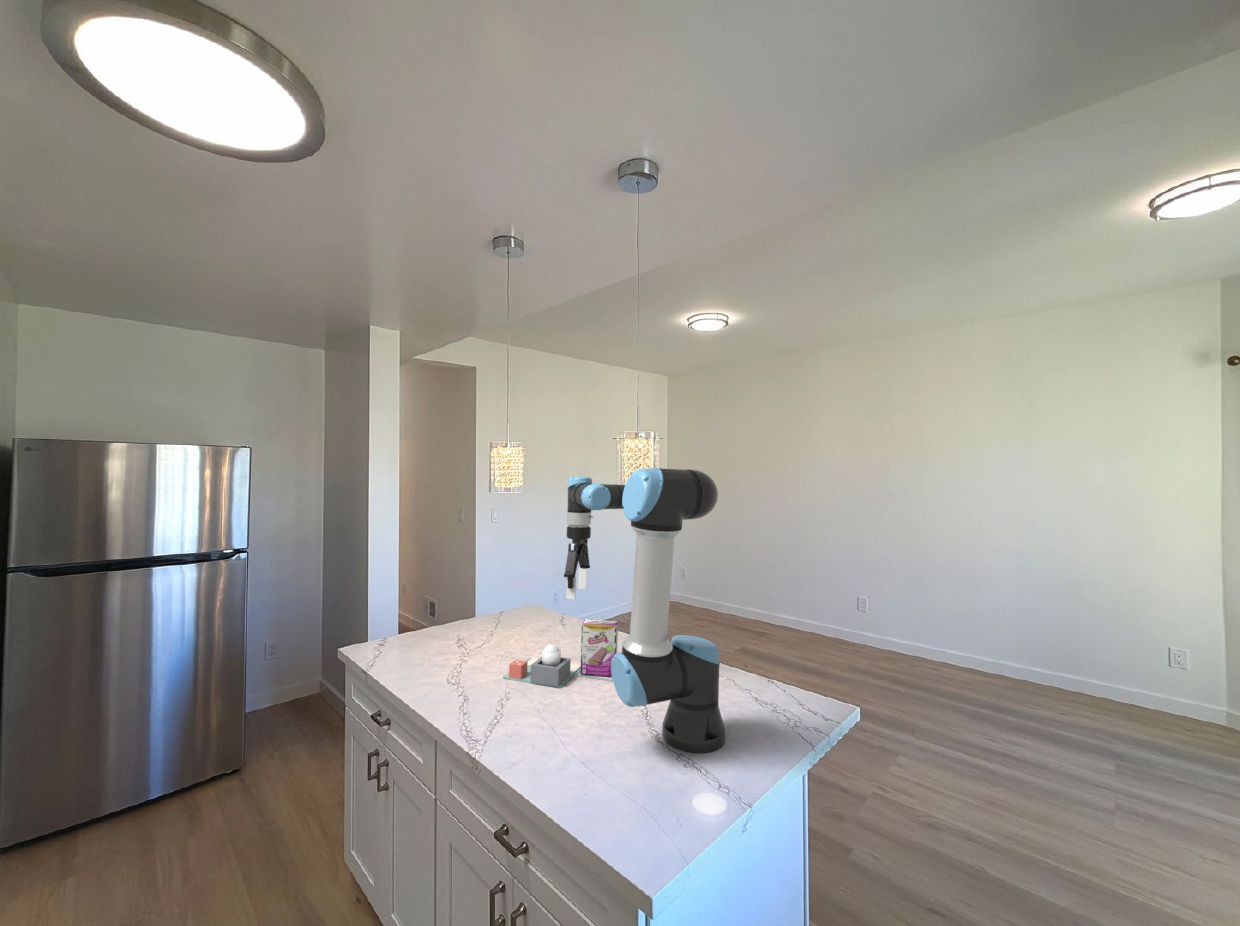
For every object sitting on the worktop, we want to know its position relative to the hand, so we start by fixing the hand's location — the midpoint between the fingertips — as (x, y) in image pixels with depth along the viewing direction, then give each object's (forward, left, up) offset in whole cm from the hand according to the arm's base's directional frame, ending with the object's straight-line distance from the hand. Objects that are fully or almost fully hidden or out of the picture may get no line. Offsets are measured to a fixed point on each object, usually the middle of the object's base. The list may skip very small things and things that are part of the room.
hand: (576, 593), depth 156 cm
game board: (-1, +10, -26) cm, 27 cm away
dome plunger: (-6, +6, -21) cm, 22 cm away
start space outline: (+4, -6, -26) cm, 27 cm away
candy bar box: (+4, -6, -26) cm, 27 cm away
